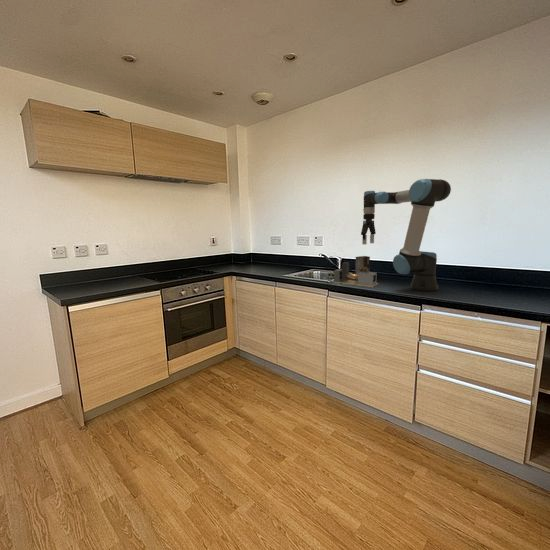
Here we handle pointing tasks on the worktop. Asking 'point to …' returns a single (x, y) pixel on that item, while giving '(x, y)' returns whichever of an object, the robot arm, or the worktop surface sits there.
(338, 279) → the socket
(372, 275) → the guide
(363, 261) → the coffee box
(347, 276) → the brown stepped block
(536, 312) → the worktop surface
